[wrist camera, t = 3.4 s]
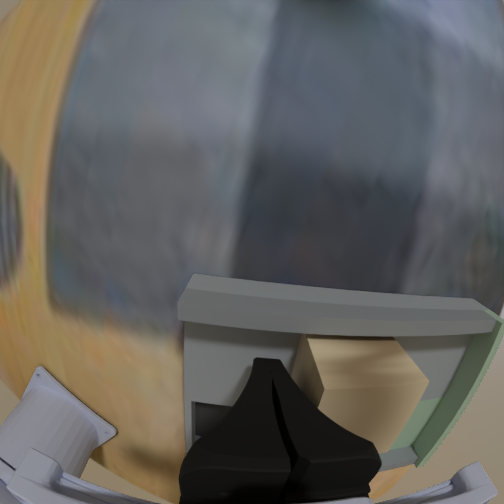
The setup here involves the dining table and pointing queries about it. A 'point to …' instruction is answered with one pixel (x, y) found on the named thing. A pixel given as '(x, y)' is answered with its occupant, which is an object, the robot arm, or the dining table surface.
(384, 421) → the beech cube
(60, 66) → the dining table surface
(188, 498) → the robot arm
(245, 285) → the box
